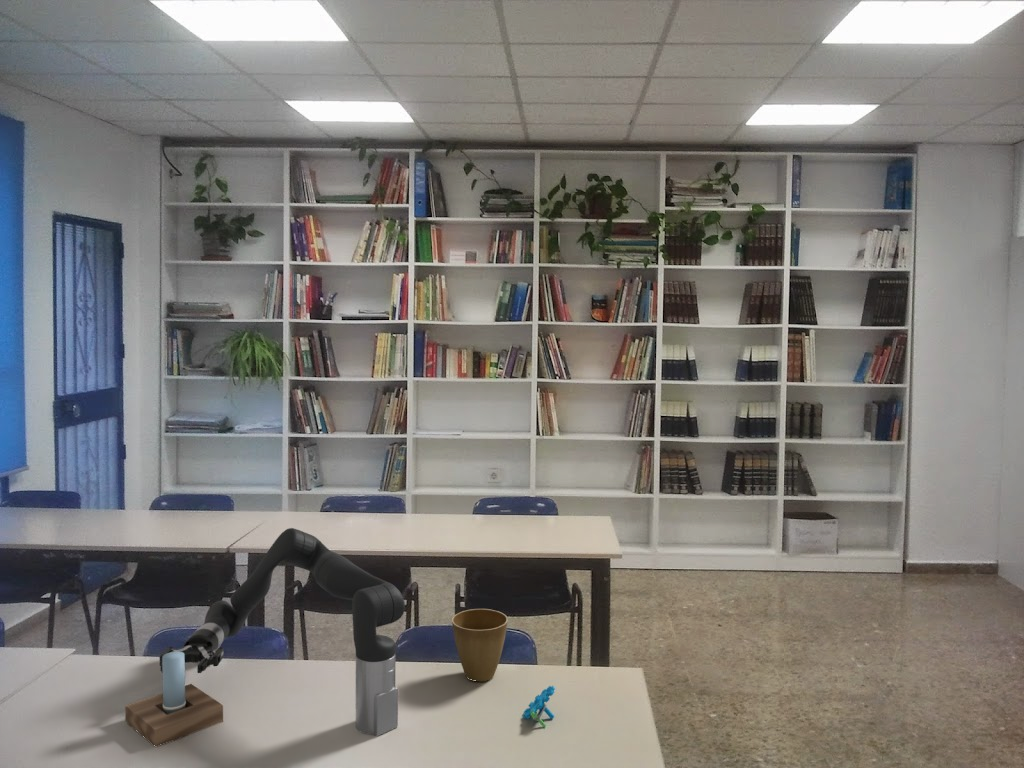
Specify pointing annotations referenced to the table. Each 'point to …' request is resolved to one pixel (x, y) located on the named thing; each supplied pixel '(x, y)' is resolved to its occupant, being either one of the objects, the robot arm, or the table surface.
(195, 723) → the socket block
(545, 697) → the blue green construction toy
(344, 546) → the table surface
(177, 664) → the peg
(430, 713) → the table surface
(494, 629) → the plant pot
